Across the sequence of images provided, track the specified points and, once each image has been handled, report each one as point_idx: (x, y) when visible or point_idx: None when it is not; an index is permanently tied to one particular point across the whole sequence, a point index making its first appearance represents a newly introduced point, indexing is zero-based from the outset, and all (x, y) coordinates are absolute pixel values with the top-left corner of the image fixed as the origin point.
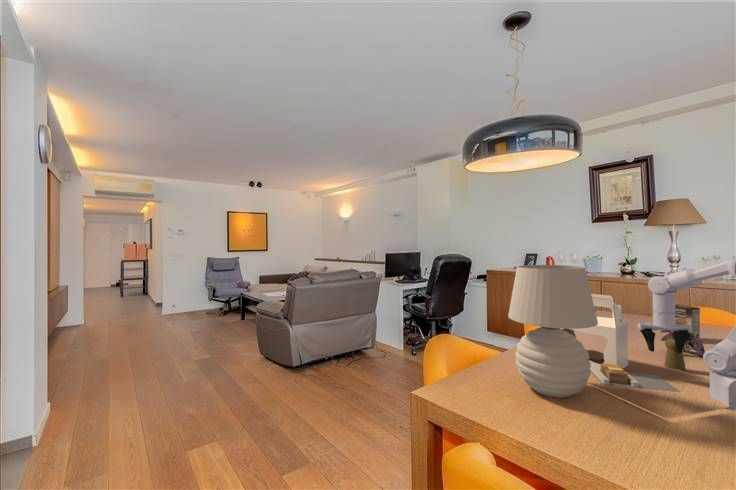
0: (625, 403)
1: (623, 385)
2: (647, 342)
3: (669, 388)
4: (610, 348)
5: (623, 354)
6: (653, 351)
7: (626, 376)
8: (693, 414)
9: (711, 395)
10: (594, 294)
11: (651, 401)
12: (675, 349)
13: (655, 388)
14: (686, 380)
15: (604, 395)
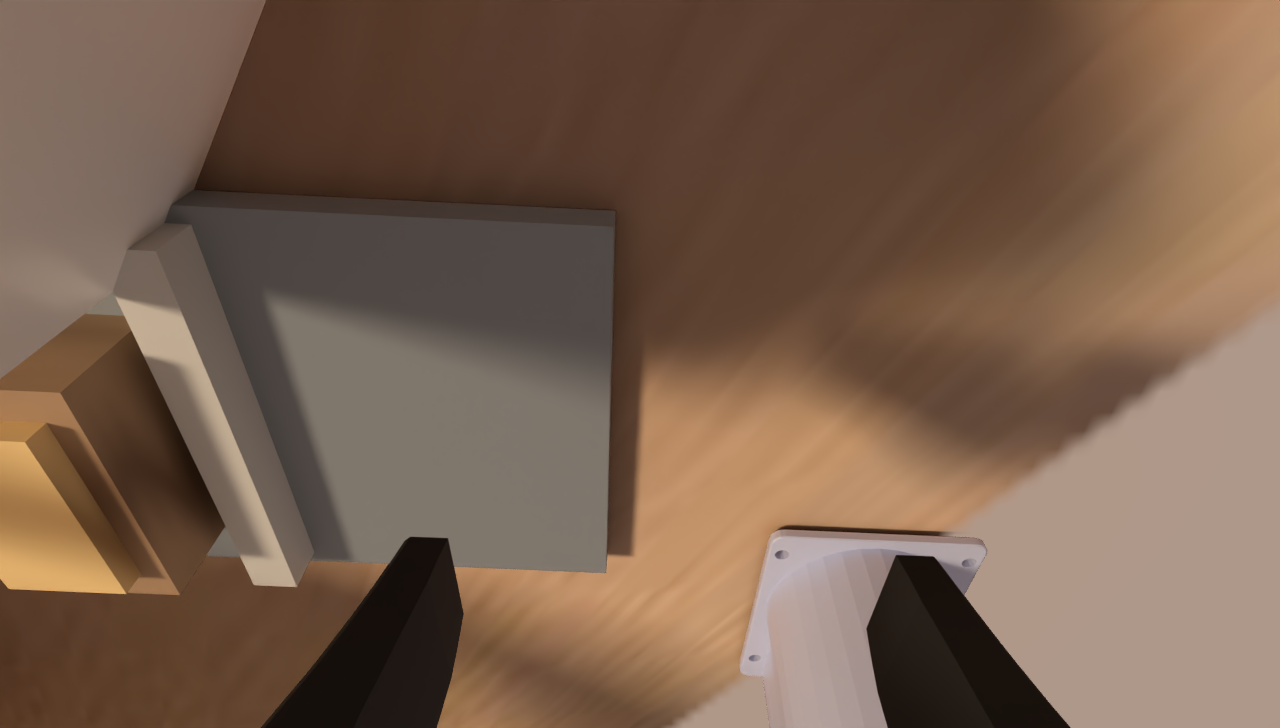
0: (214, 673)
1: None
2: (325, 690)
3: (549, 535)
4: None
5: (70, 85)
6: (454, 616)
7: (189, 567)
8: (529, 713)
9: (770, 618)
10: None
11: None
12: (909, 589)
13: None
14: (920, 236)
15: (92, 616)
